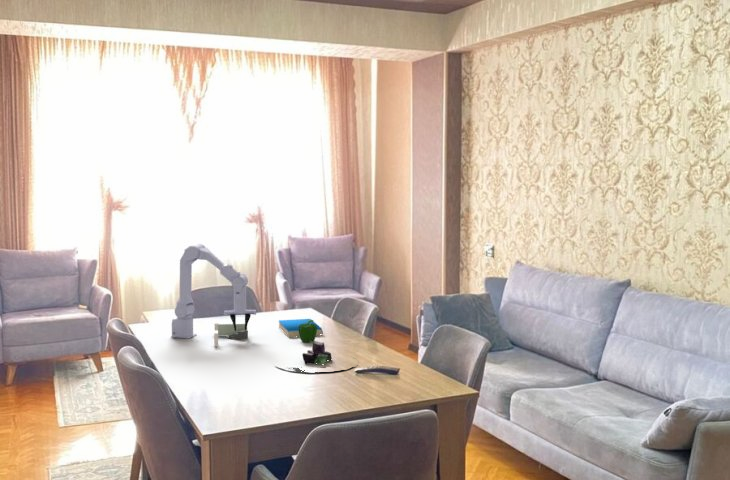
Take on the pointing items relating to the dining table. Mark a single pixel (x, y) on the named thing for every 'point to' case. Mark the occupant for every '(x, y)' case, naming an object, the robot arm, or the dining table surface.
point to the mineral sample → (314, 356)
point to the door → (229, 329)
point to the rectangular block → (216, 334)
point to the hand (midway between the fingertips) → (240, 330)
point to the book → (296, 326)
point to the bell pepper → (307, 331)
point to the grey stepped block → (239, 335)
